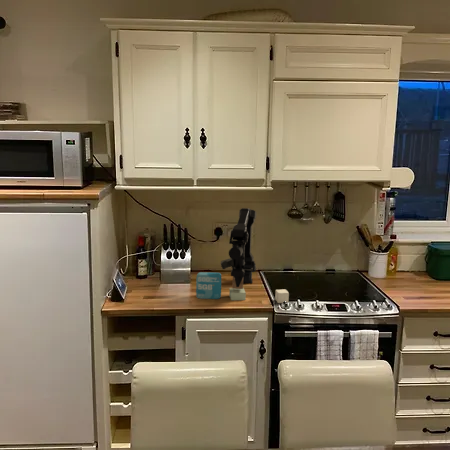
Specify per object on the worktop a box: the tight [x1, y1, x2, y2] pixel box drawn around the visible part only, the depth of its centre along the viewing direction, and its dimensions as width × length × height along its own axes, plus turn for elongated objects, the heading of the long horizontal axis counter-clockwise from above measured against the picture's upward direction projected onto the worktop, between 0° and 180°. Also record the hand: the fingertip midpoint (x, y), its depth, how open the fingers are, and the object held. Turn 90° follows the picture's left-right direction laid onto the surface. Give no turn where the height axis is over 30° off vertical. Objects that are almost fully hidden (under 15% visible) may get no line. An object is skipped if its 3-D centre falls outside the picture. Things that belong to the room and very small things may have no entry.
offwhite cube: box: [274, 288, 290, 304], centre depth 225 cm, size 5×5×5 cm
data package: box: [195, 271, 222, 300], centre depth 227 cm, size 12×4×12 cm, turn 89°
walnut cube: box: [231, 276, 244, 289], centre depth 227 cm, size 5×5×5 cm
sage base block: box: [228, 287, 247, 301], centre depth 228 cm, size 7×7×4 cm
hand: (237, 285), depth 227 cm, fingers closed on walnut cube, 5 cm apart
